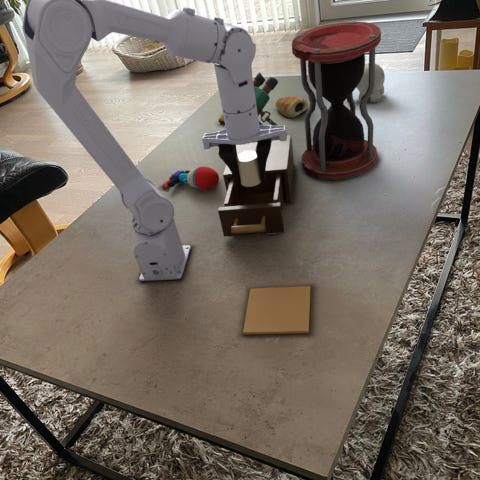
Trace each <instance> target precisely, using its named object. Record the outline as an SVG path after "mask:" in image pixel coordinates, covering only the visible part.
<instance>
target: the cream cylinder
mask: <svg viewBox="0 0 480 480" xmlns="http://www.w3.org/2000/svg"><path fill="white" fill-rule="evenodd" d="M236 160H237V165H238V171H239V176H240V182H241V184H242V185H243V186H245V187H252V186H256V185H258V184H259V183H261V179H260V168H259V163H258V158H257V154H256V152H255V151H245V152H242V153H240V154H238V155H237V157H236Z"/></svg>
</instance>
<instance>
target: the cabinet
mask: <svg viewBox="0 0 480 480" xmlns="http://www.w3.org/2000/svg"><path fill="white" fill-rule="evenodd" d="M256 146H257V142H254V143H248V144H243V145H236V149H237V155H238V154H240V153H242V152H245V151H255V152H256ZM278 173H282V176H283V185H284V200H283V205H284V204H285V205H286V204H292V203H291V202H292V195H293V194H292V193H293V184H294V175H295V159H294V149H293V138H292V134H287V139H286V141H280V140H274V141H272V143H271V149H270V152H269V155H268V158H267V162H266V175H267V174H278ZM222 177H223V180H224V181H223V182H224V186H225V190H226V192H227V191H228V187H229V183H230V179H231V178H233V177H234V176H233V174H232V173H231V171H230V169H229V168H228V166H227V165H226V164H225V168H224V170H223V174H222Z"/></svg>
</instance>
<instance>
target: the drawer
mask: <svg viewBox="0 0 480 480" xmlns="http://www.w3.org/2000/svg"><path fill="white" fill-rule="evenodd" d="M283 200H284V185H283V176H282V173H278V174H267V175H266V178H265V182H261V183H259V184H258V185H256V186H252V187H245V186H243V185H242V184H241V182H240V184H236V181H235V178H234V177H233V178H231V179H230V183H229V187H228V191H226V194H225V199H224V202H223V206H218V209H217V212H218V213H217V214H218V218H219V221H220V227H221V229H222V235H223V237H238V236H256V235H269V234H283V233H285V226H284V217H283V207H284V204H283Z"/></svg>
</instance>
